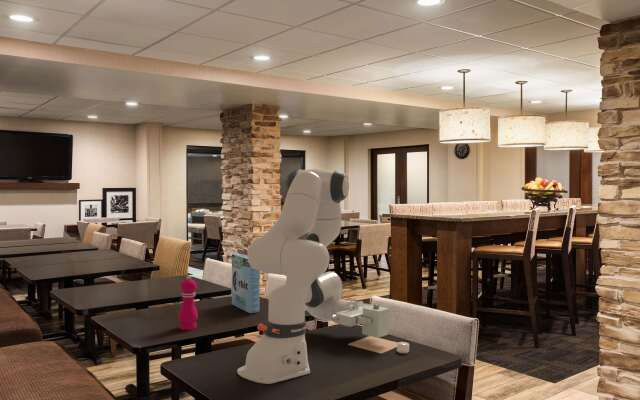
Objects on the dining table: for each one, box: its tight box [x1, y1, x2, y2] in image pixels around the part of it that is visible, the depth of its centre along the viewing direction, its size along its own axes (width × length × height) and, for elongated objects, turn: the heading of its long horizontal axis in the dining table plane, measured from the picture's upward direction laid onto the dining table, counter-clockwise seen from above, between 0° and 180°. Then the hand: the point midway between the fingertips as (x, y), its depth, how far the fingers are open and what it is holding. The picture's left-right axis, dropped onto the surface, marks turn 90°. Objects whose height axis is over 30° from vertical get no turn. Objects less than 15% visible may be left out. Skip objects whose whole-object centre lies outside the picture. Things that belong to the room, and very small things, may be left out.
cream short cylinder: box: [396, 341, 410, 354], centre depth 182 cm, size 4×4×3 cm
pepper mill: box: [177, 274, 199, 331], centre depth 204 cm, size 7×7×20 cm
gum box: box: [231, 252, 261, 314], centre depth 237 cm, size 20×5×23 cm, turn 32°
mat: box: [347, 336, 398, 354], centre depth 189 cm, size 14×14×1 cm
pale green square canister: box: [361, 303, 390, 338], centre depth 188 cm, size 7×7×10 cm
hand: (378, 319), depth 187 cm, fingers closed on pale green square canister, 7 cm apart
